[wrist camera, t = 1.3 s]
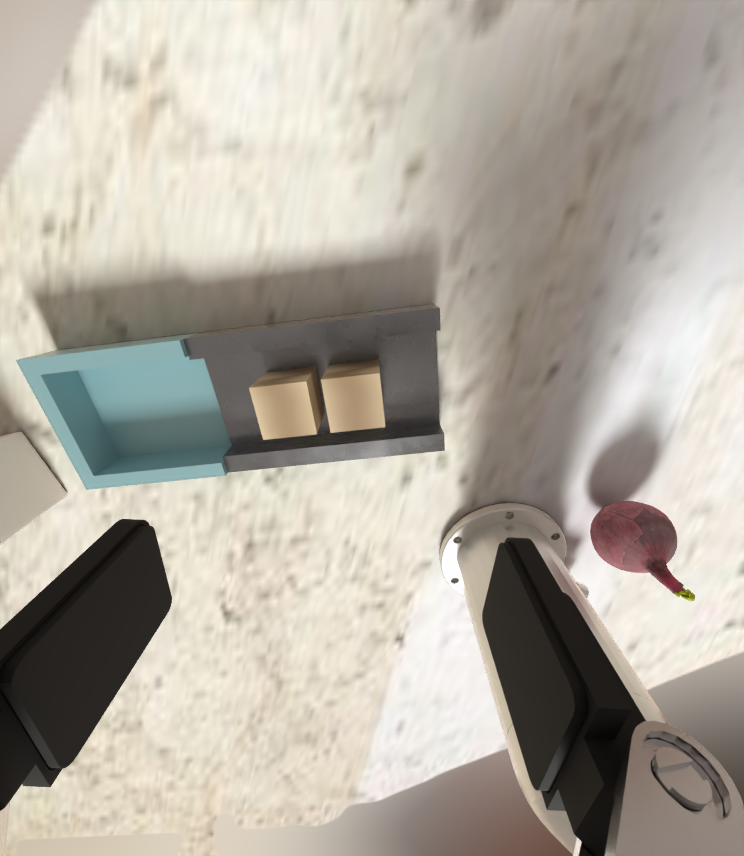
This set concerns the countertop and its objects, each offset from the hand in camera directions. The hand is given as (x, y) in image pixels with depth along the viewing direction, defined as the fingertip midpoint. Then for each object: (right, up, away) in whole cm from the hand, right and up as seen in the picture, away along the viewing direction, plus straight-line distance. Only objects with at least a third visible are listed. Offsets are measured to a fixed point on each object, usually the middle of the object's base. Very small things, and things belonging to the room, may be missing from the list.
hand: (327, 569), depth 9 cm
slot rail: (-2, +7, +19) cm, 21 cm away
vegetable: (+24, -4, +25) cm, 35 cm away
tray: (-17, +6, +20) cm, 27 cm away
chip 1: (-5, +7, +19) cm, 20 cm away
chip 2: (0, +7, +18) cm, 20 cm away
